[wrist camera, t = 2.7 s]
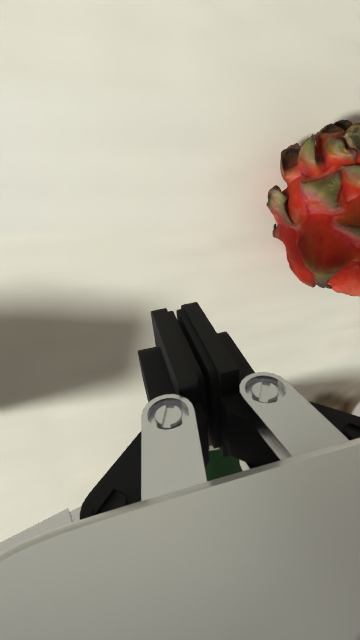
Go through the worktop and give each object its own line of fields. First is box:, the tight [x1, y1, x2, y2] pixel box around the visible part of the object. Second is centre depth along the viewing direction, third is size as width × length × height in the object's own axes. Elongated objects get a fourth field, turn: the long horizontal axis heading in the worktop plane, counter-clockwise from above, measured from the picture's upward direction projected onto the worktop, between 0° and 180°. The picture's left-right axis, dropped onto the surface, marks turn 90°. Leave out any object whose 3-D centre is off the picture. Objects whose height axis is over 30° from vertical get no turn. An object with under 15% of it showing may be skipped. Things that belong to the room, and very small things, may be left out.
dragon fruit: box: [267, 120, 360, 296], centre depth 20 cm, size 8×8×12 cm
